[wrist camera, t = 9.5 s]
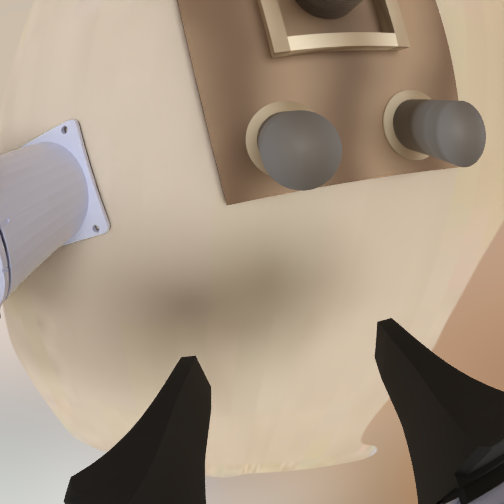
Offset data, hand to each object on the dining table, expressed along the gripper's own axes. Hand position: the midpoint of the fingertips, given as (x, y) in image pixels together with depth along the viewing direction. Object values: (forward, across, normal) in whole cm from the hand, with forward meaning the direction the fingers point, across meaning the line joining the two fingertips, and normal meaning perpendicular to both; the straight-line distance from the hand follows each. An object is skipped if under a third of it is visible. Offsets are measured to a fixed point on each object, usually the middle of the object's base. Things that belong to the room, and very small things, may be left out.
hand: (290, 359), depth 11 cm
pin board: (+9, -6, -12) cm, 16 cm away
